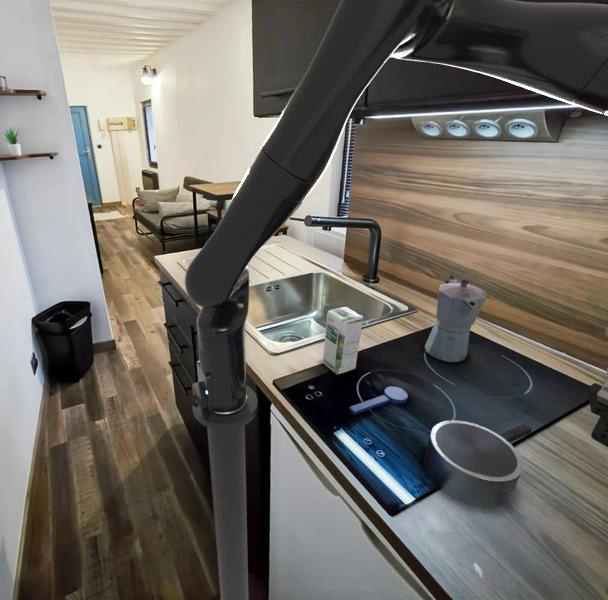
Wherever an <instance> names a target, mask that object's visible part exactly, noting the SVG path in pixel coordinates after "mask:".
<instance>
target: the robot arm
mask: <svg viewBox="0 0 608 600" xmlns="http://www.w3.org/2000/svg"><path fill="white" fill-rule="evenodd" d="M388 59H396V60H405V61H414V62H422V63H423V62H424V63H430V64H437V65H438V64H439V65H443V66H444V65H445V66H450V67H453V68H459V69H464V70H468V71H471V72H475V73H480V74H483V75H486V76H490V77H493V78H496V79H499V80H502V81H504V82H508V83H510V84H512V85H515V86H518V87H522V88H524V89H526V90H530V91H533V92H535V93H537V94H541V95H544V96H547V97H549V98H553V99H556V100H558V101H562V102H565V103H567V104H571V105H573V106H576V107H579V108H582V109H586V110H588V111H591V112H595V113H598V114H602V115H603V114H604V116H607V117H608V4H605V3H591V2H590V3H589V2H531V1H520V0H340V3H339V4H338V7H337V9H336V11H335V13H334V15H333V17H332V20H331V21H330V23H329V25H328V27H327V29H326V31H325V34H324V36H323V37H322V40H321V42H320V44H319V46H318V48H317V50H316V53H315V54H314V57H313V58H312V60H311V63H310V64H309V66H308V68H307V70H306V72H305V74H304V75H303V76H302V79H301V81H300V82H299V84H298V86H297V87H296V89H295V90H294V92H293V93H292V95H291V96H290V98H289V100H288V101H287V103H286V105H285V108H284V109H283V111H282V113H281V114H280V116H279V118H278V120H277V121H276V123H275V125H274V126H273V128H272V129H271V131H270V133H269V134H268V136H267V137H266V139H265V141H264V142H263V144H262V145H261V147H260V149H259V151H258V152H257V154H256V155H255V157H254V159H253V161H252V162H251V164H250V166H249V167H248V169H247V171H246V173H245V175H244V177H243V178H242V180H241V183H240V184H239V186H238V187H237V189H236V191H235V193H234V195H233V197H232V199H231V200H230V201H229V202H230V203H229V204H228V206H227V208H226V209H225V211H224V214H223V216H222V218H221V219H220V222H219V223H218V225H217V227H216V228H215V230H214V232H213V233H212V234H211V235H210V237H209V238H208V239H207V241H206V242H205V244H203V245H204V246H202V248H201V249H200V250H199V252H198V253H197V254H196V255H195V256H194V258H193V259H192V260H191V261H190V263H189V265H188V266H187V267H186V268H187V269H186V271H185V275H184V287H185V291H186V293H187V296H188V298H189V299H190V300H191V301H192V302H193V303H194V304H195V305H196V306H199V307H201V308H200V311H199V313H198V315H197V317H196V335H197V347H198V348H197V349H198V358H199V360H197V361H196V371H197V382H195V383H192V384H191V390H192V395H193V396H192V397H191V399H190V404H191V406H192V405H193V406H194V407H198V405H199V407H200V409H203V408H205V409H206V411H207V412H208V414H209V416H211V415H219V416H229V415H233V414H236V413H238V412H240V411H241V410H242V409H243V408H244V407H245V406H246V403H247V393H246V385H247V364H246V363H247V362H246V361H247V360H246V359H247V358H246V356H247V355H246V321H247V318H248V315H249V308H250V307H249V306H250V304H249V303H250V271H249V264H250V262H251V261H252V259H253V257H254V256H255V255H256V254H257V253H258V252H259V250H260V249H261V248H262V247H263V246H264V245H265V244H266V243H267V242H268V241H269V240H270V239H271V238H272V237H273V236H274V235H275V234H276V233H277V232H278V231H280V229H281V228H282V227H283V226H284V225H285V224H286V223H287V222H288V221H289V220H290V219H291V217H293V215H294V214H295V213H296V211H297V210H298V209H299V208H300V207H301V205H302V204H303V203H304V202H305V201H306V199H307V198H308V196H309V195H310V193H311V192H312V191H313V190H314V188H315V186H316V185H317V184H318V183H319V182H320V180H321V178H322V177H323V175H324V174H325V172H326V170H327V169H328V167H329V165H330V162H331V161H332V158H333V156H334V154H335V152H336V149H337V147H338V144H339V142H340V139H341V137H342V134H343V132H344V129H345V126H346V124H347V122H348V119H349V117H350V116H351V113H352V111H353V110H354V107H355V105H356V104H357V102H358V100H359V99H360V98H361V96H362V94H363V93H364V91H365V90H366V89H367V87H368V86H369V84H370V83H371V82H372V80H373V79H374V78H375V76H376V75H377V74H378V72H379V71H380V70H381V68H382V67H383V66H384V65H385V63H387V61H388ZM604 333H605V337H606V339H607V340H608V326H606V329H605V332H604ZM606 374H607V375H608V368H607V369H606ZM587 396H588V403H589V408H590V412H591V413H592V414H594V415H595V416H599V417H598V420H597V421H596V424H595V426H594V428H593V430H592V432H591V434H590V437H591V438H592V439H593V441H596V442H597V443H599V444H601V445H603V446H604V447H606V448H608V376H607V377H606V379H605V381H604V383H603V385H602V384H599V383H597V382H593V383H592V384H590V385H589V386H588V388H587ZM195 401H197V403H198V404H197V403H196V402H195Z"/></svg>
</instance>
